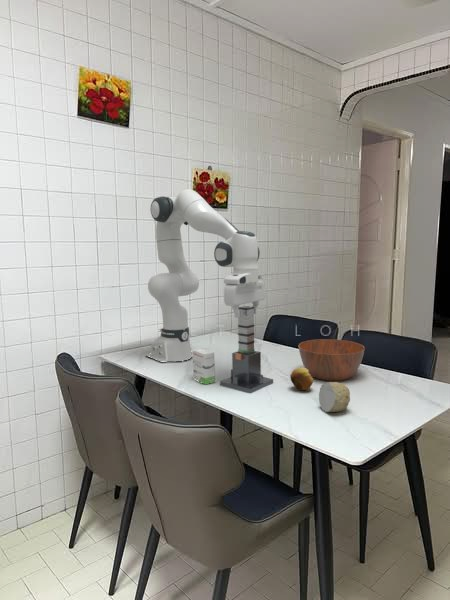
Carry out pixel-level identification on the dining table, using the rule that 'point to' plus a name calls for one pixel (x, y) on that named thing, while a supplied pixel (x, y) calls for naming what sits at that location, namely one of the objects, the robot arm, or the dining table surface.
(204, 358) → the ink box
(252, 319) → the column
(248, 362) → the stand
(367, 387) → the dining table surface
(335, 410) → the yellow rounded chunk
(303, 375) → the fruit
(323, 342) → the bowl
